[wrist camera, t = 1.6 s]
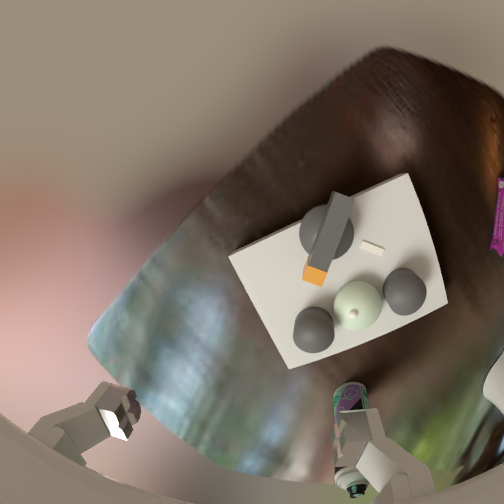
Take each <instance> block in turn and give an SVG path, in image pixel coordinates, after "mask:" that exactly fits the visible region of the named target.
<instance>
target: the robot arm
mask: <svg viewBox="0 0 504 504" xmlns="http://www.w3.org/2000/svg"><path fill="white" fill-rule="evenodd" d="M483 394H484V396H485V398H487V399H488V400H490V401H491V402H492V403H493V404H494V405H495V406H496V407H497V408H498V409H499V410H500V411H501V412H502V413H503V415H504V351H503V353H502V355H501V356H500V357H499V359H498V360H497V361H496V363H495V364H494V365H493V367H492V369H491V370H490V372H489V374H488V376H487V378H486V380H485V383H484V387H483ZM136 397H137V396H136V393H135V391H134V390H131V389H128V388H125V387H121V386H118V385H114V384H111V383H108V382H105V381H104V382H101V383H100V384H99V386H98V387H97V388H96V389H95V390H94V392H93V393H92V394H91V396H90V397H89V398H88V399H87V400H86V402H85V403H82V402H81V403H78V404H76V405H73V406H71V407H68V408H65V409H63V410H60V411H57V412H54V413H52V414H49V415H46V416H43V417H42V418H40V420H39V421H38V422H37V423H36V424H35V425H34V427H33V428H32V429H31V430H30V431H29V433H26V432H25V431H23V430H22V429H20V428H19V427H18V426H16V425H15V424H14V423H12V422H11V421H10V420H8V419H7V418H6V417H4V416H3V415H2V414H0V504H194V503H189V502H185V501H180V500H176V499H173V498H168V497H165V496H162V495H158V494H155V493H151V492H148V491H145V490H142V489H139V488H136V487H133V486H130V485H128V484H125V483H122V482H120V481H117V480H115V479H112V478H110V477H107V476H105V475H102V474H100V473H98V472H96V471H94V470H92V469H89V468H87V467H85V465H86V461H85V460H84V458H83V457H82V456H81V453H83V452H84V451H86V450H88V449H90V448H91V447H93V446H95V445H96V444H98V443H99V442H101V441H103V440H105V439H106V438H108V437H109V436H110V435H112V436H115V437H118V438H121V439H125V440H127V439H128V438H129V436H130V434H131V433H132V431H133V428H132V425H134V424H136V423H137V422H138V420H139V418H140V414H141V407H140V404H139V403H138V402H137V401H136V400H135V398H136ZM336 418H337V423H335V424H334V427H333V432H332V445H333V446H334V447H335V451H334V454H333V456H334V466H335V467H345V466H356V468H357V469H358V470H359V471H360V472H361V474H362V475H363V476H364V477H365V478H366V479H367V480H368V481H369V482H370V484H371V485H372V486H373V487H374V488H375V489H376V490H377V491H378V492H379V494H378V495H377V496H376V497H375V498H374V499H373V501H372V502H371V503H370V504H504V463H503V464H500V465H498V466H497V467H495V468H493V469H491V470H489V471H487V472H485V473H482V474H480V475H478V476H476V477H474V478H471V479H469V480H466V481H464V482H462V483H459V484H456V485H454V486H451V487H448V488H446V489H443V490H440V491H437V492H436V490H435V487H434V483H433V481H432V477H431V474H430V471H429V468H428V467H427V466H426V465H424V464H423V463H422V462H420V461H419V460H418V459H416V458H415V457H414V456H412V455H411V454H410V453H408V452H407V451H406V450H404V449H403V448H402V447H401V446H399V445H398V444H397V443H395V442H394V441H393V440H392V439H390V438H386V436H385V433H384V429H383V426H382V422H381V419H380V416H379V412H378V410H377V409H376V408H375V409H364V410H363V409H362V410H349V411H339V412H338V414H337V417H336Z"/></svg>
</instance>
